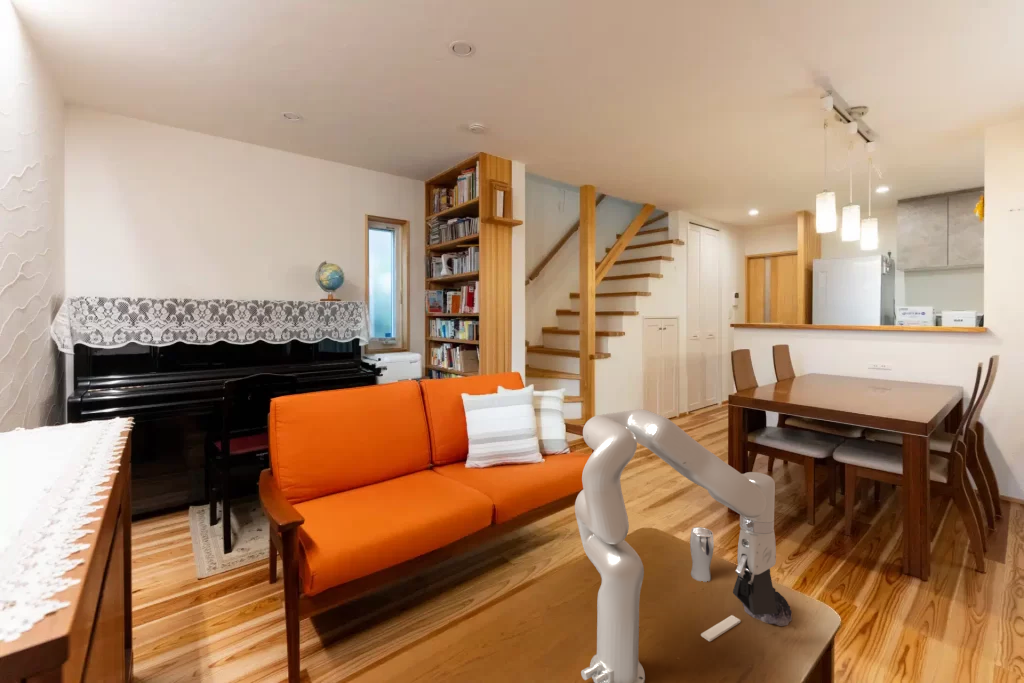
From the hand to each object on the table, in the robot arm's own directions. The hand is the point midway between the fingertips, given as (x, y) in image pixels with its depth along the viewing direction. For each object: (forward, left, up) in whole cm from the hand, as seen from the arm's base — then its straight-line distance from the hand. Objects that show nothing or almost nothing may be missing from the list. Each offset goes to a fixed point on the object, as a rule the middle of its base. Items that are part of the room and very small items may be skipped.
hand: (754, 591), depth 113 cm
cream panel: (-1, +8, -14) cm, 17 cm away
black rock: (+16, +5, -15) cm, 23 cm away
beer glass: (+16, +26, -15) cm, 34 cm away
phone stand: (0, 0, -3) cm, 3 cm away
